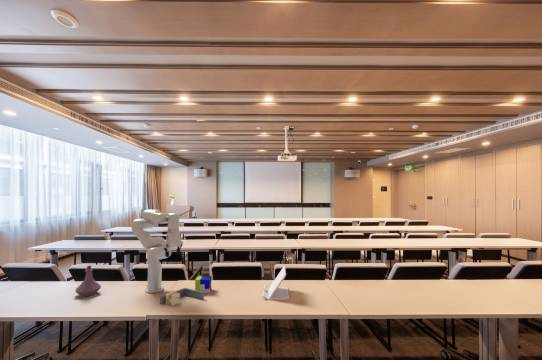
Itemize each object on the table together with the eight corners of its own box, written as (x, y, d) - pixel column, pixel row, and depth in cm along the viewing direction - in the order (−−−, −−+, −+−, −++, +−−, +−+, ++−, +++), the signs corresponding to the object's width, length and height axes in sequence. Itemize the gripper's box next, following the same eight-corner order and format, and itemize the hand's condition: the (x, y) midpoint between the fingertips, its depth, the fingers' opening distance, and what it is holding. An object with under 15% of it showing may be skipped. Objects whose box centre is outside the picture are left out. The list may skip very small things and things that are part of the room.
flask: (79, 300, 191) (80, 270, 192) (70, 295, 201) (71, 266, 202) (105, 293, 204) (106, 265, 205) (96, 289, 214) (96, 262, 215)
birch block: (166, 303, 183) (166, 294, 184) (173, 300, 188) (173, 291, 189) (172, 305, 180) (172, 295, 181) (179, 302, 185) (179, 293, 186)
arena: (159, 304, 183) (160, 296, 184) (185, 294, 201) (185, 287, 202) (179, 310, 174) (179, 302, 174) (203, 299, 192) (203, 292, 192)
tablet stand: (287, 288, 216) (287, 265, 217) (289, 300, 191) (289, 274, 192) (264, 288, 217) (264, 265, 217) (262, 300, 192) (262, 274, 192)
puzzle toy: (209, 293, 204) (209, 279, 204) (195, 294, 203) (195, 279, 204) (211, 289, 214) (211, 275, 214) (197, 289, 213) (198, 275, 214)
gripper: (166, 232, 191) (166, 258, 190) (186, 230, 206) (186, 253, 205) (159, 232, 195) (158, 257, 194) (179, 229, 210) (179, 252, 209)
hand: (172, 255), depth 199 cm, fingers open, 9 cm apart
